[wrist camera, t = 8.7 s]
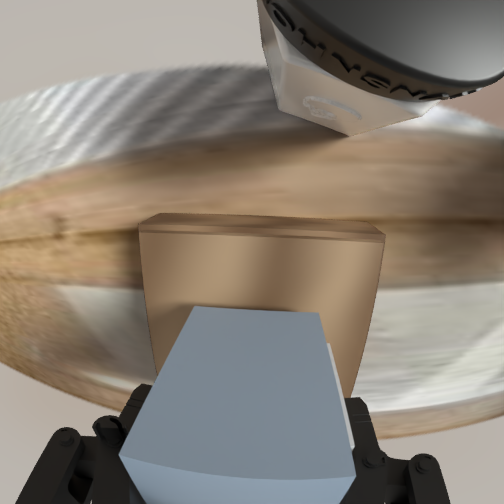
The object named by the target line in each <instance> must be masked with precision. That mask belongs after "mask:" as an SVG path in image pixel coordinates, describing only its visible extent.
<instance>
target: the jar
mask: <svg viewBox="0 0 504 504" xmlns="http://www.w3.org/2000/svg"><path fill="white" fill-rule="evenodd" d="M257 7H258V15H259V23H260V31H261V40H262V47H263V51H264V54H265V58H266V62H267V66H268V70H269V73H270V77H271V81H272V85H273V89H274V93H275V97H276V101H277V105H278V109H279V110H280V111H282V112H285V113H288V114H291V115H294V116H297V117H300V118H303V119H306V120H309V121H312V122H314V123H317V124H320V125H323V126H325V127H328V128H331V129H333V130H336V131H338V132H341V133H343V134H346V135H348V136H354V135H357V134H361V133H364V132H367V131H371V130H374V129H377V128H381V127H384V126H388V125H392V124H395V123H399V122H403V121H406V120H410V119H414V118H418V117H421V116H423V115H424V114H426V113H427V112H428V111H429V110H430V109H431V108H432V107H433V106H435V105H436V104H437V103H438V102H439V101H440V100H447V99H448V98H449V97H450V99H452V98H456V97H460V96H463V95H467V94H470V93H473V92H476V91H478V90H480V89H482V88H483V87H485V86H488V85H491V84H493V83H495V82H497V81H498V80H500V79H501V78H502V77H503V76H504V0H257Z"/></svg>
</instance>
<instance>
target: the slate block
mask: <svg viewBox="0 0 504 504" xmlns="http://www.w3.org/2000/svg"><path fill="white" fill-rule="evenodd" d="M119 456H120V458H121V460H122V462H123V464H124V466H125V468H126V470H127V472H128V473H129V475H130V477H131V479H132V480H133V482H134V484H135V486H136V487H137V489H138V491H139V492H140V494H141V496H142V497H143V499H144V501H145V502H146V504H339V503H340V502H341V500H342V499H343V497H344V495H345V494H346V492H347V491H348V489H349V487H350V486H351V484H352V482H353V481H354V479H355V477H356V472H355V467H354V462H353V457H352V452H351V447H350V442H349V437H348V432H347V427H346V423H345V418H344V414H343V409H342V405H341V400H340V396H339V392H338V387H337V383H336V379H335V375H334V371H333V367H332V363H331V359H330V355H329V351H328V347H327V343H326V339H325V335H324V331H323V327H322V324H321V320H320V316H319V313H315V312H285V311H263V310H245V309H229V308H215V307H202V306H194V308H193V310H192V311H191V313H190V315H189V317H188V319H187V321H186V323H185V325H184V326H183V328H182V330H181V332H180V334H179V336H178V338H177V340H176V342H175V344H174V345H173V347H172V349H171V351H170V353H169V355H168V357H167V359H166V361H165V363H164V365H163V367H162V369H161V371H160V373H159V374H158V376H157V378H156V380H155V382H154V384H153V386H152V388H151V390H150V392H149V394H148V396H147V398H146V400H145V402H144V404H143V406H142V408H141V410H140V412H139V414H138V416H137V418H136V420H135V422H134V424H133V426H132V428H131V430H130V432H129V434H128V436H127V438H126V440H125V442H124V444H123V446H122V449H121V451H120V453H119Z"/></svg>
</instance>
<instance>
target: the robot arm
mask: <svg viewBox="0 0 504 504" xmlns="http://www.w3.org/2000/svg"><path fill="white" fill-rule="evenodd" d="M327 347H328V351H329V355H330V359H331V363H332V367H333V371H334V375H335V379H336V383H337V387H338V392H339V396H340V400H341V405H342V409H343V414H344V418H345V423H346V427H347V432H348V437H349V442H350V447H351V452H352V457H353V462H354V467H355V472H356V477H355V479H354V481H353V482H352V484H351V486H350V487H349V489H348V491H347V492H346V494H345V495H344V497H343V499H342V500H341V502H340V503H339V504H384V502H385V504H450V500H449V496H448V493H447V489H446V486H445V482H444V479H443V476H442V473H441V469H440V466H439V463H438V461H437V460H436V458H434V457H433V456H432V455H429V454H418V455H415V456H414V457H413V458H411V460H401V459H394V458H390V457H388V456H387V455H386V454H385V452H383V451H382V450H380V448H379V445H378V442H377V438H376V435H375V431H374V428H373V425H372V422H371V418H370V415H369V411H368V408H367V405H366V404H365V403H364V402H363V400H362V399H361V398H360V397H356V398H344V397H343V393H342V389H341V385H340V381H339V377H338V373H337V369H336V365H335V361H334V357H333V354H332V350H331V346H330V343H327ZM151 388H152V385H146V384H141V385H140V386H138V387H137V388H136V389H135V390H134V391H133V393H132V394H131V396H130V399H129V400H128V402H127V403H126V406H125V407H124V409H123V411H122V412H121V414H120V416H119V417H117V416H111V415H109V416H103V417H100V418H98V419H97V420H96V421H95V422H94V424H93V426H92V428H93V430H94V432H95V434H96V435H97V436H96V437H93V436H80V434H79V433H78V431H77V430H75V429H73V428H69V427H64V428H60V429H59V430H57V431H56V432H55V433H54V434H53V436H52V437H51V439H50V441H49V442H48V444H47V446H46V448H45V449H44V451H43V453H42V454H41V456H40V458H39V460H38V462H37V463H36V465H35V467H34V469H33V471H32V472H31V474H30V476H29V478H28V480H27V482H26V484H25V486H24V487H23V489H22V491H21V493H20V495H19V497H18V499H17V501H16V503H15V504H90V503H91V500H92V504H146V502H145V501H144V499H143V497H142V496H141V494H140V492H139V491H138V489H137V487H136V486H135V484H134V482H133V480H132V479H131V477H130V475H129V473H128V472H127V470H126V468H125V466H124V464H123V462H122V460H121V458H120V456H119V453H120V451H121V449H122V446H123V444H124V442H125V440H126V438H127V436H128V434H129V432H130V430H131V428H132V426H133V424H134V422H135V420H136V418H137V416H138V414H139V412H140V410H141V408H142V406H143V404H144V402H145V400H146V398H147V396H148V394H149V392H150V390H151Z"/></svg>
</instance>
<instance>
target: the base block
mask: <svg viewBox="0 0 504 504" xmlns="http://www.w3.org/2000/svg"><path fill="white" fill-rule="evenodd" d="M138 230H139V245H140V257H141V268H142V278H143V287H144V295H145V303H146V311H147V318H148V325H149V332H150V338H151V344H152V350H153V356H154V361H155V367H156V372H157V376H158V374H159V373H160V371H161V369H162V367H163V365H164V363H165V361H166V359H167V357H168V355H169V353H170V351H171V349H172V347H173V345H174V344H175V342H176V340H177V338H178V336H179V334H180V332H181V330H182V328H183V326H184V325H185V323H186V321H187V319H188V317H189V315H190V313H191V311H192V310H193V308H194V306H202V307H215V308H229V309H245V310H263V311H285V312H315V313H319V316H320V320H321V324H322V327H323V331H324V335H325V339H326V343H330V346H331V350H332V354H333V357H334V361H335V365H336V369H337V373H338V377H339V381H340V385H341V389H342V393H343V397H344V398H350V397H351V394H352V391H353V387H354V384H355V380H356V377H357V373H358V370H359V366H360V363H361V359H362V355H363V351H364V347H365V343H366V339H367V335H368V331H369V326H370V322H371V317H372V313H373V308H374V303H375V298H376V293H377V287H378V282H379V276H380V270H381V264H382V258H383V251H384V244H385V237H386V235H385V234H384V233H382V232H381V231H379V230H378V229H377V228H375V227H374V226H372V225H371V224H369V223H368V222H362V221H348V220H332V219H315V218H297V217H276V216H252V215H223V214H179V213H160V214H158V215H156V216H154V217H152V218H150V219H148V220H146V221H144V222H142V223H140V224H138Z"/></svg>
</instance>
